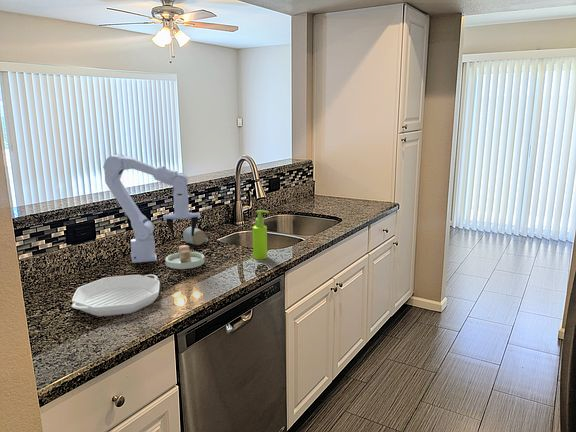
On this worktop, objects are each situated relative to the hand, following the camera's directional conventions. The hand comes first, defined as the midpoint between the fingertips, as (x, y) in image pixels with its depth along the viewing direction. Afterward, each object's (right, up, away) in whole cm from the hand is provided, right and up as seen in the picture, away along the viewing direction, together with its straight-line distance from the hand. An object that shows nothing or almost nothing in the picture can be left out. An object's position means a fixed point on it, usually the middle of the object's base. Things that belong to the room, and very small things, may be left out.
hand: (183, 236), depth 184 cm
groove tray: (+2, -10, -4) cm, 11 cm away
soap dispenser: (+32, -9, +3) cm, 33 cm away
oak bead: (+3, -11, -7) cm, 13 cm away
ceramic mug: (+1, -5, +24) cm, 24 cm away
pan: (-11, -19, -41) cm, 46 cm away
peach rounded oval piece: (+1, -9, 0) cm, 9 cm away
